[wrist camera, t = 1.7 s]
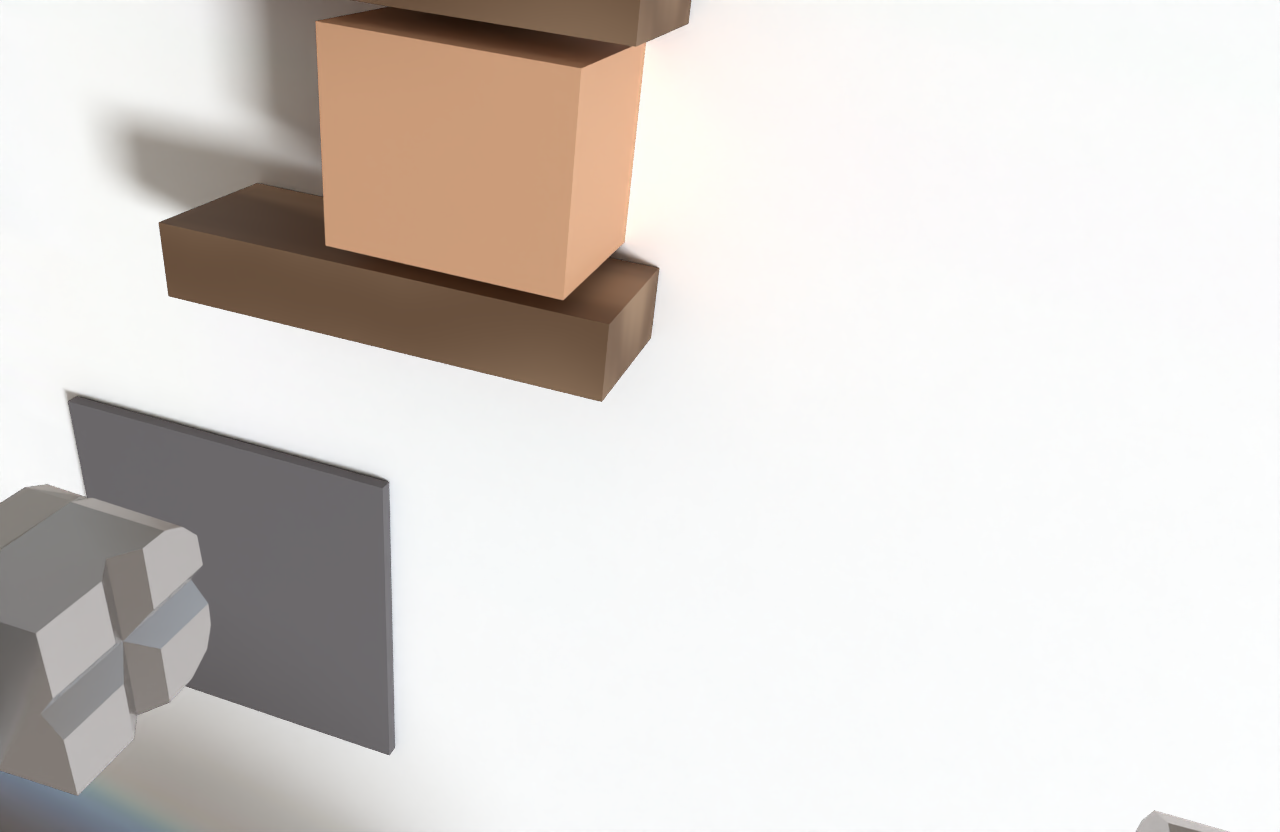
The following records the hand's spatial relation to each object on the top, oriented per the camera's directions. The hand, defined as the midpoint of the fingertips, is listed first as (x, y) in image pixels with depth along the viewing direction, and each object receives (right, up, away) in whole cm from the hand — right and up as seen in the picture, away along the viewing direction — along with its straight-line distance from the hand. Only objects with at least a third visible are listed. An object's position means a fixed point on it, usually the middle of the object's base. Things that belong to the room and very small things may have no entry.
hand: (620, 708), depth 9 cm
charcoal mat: (-14, -3, +28) cm, 32 cm away
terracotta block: (-3, +10, +17) cm, 20 cm away
